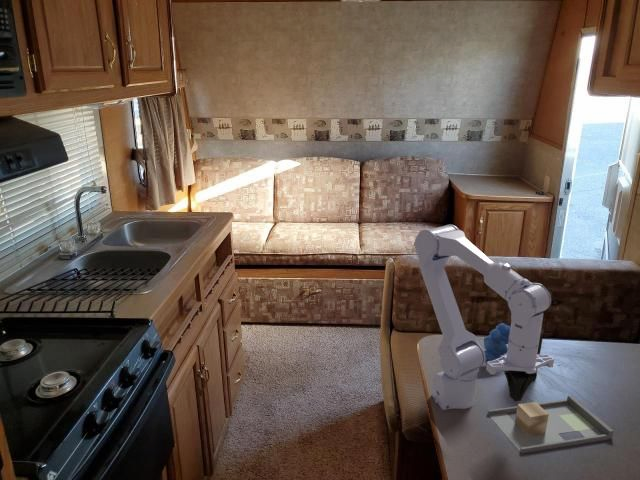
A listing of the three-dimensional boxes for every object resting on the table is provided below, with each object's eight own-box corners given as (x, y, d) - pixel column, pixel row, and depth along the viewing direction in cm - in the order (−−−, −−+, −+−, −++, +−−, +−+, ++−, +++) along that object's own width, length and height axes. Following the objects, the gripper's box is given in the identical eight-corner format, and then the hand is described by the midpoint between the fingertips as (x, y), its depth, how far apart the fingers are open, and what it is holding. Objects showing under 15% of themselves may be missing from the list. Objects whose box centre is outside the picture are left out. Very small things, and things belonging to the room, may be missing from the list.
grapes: (493, 350, 143) (498, 313, 139) (514, 360, 138) (519, 322, 134) (469, 363, 136) (473, 324, 132) (490, 374, 131) (496, 334, 127)
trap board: (520, 459, 101) (522, 445, 100) (486, 419, 113) (488, 406, 112) (610, 444, 105) (613, 430, 104) (568, 407, 117) (571, 395, 116)
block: (527, 436, 105) (530, 417, 104) (514, 423, 109) (517, 404, 108) (545, 433, 106) (548, 414, 105) (532, 420, 110) (535, 401, 109)
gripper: (503, 354, 95) (495, 414, 99) (567, 347, 98) (557, 405, 102) (483, 337, 101) (477, 394, 105) (544, 331, 104) (536, 386, 108)
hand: (515, 398), depth 104 cm, fingers closed
